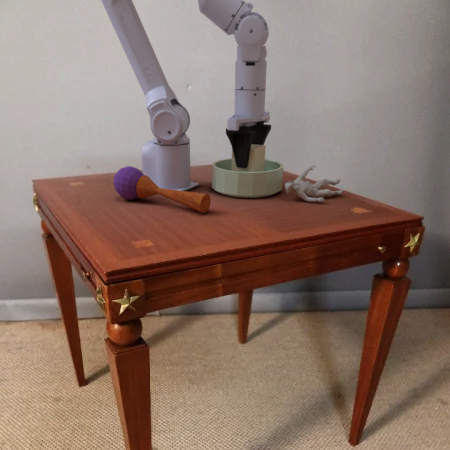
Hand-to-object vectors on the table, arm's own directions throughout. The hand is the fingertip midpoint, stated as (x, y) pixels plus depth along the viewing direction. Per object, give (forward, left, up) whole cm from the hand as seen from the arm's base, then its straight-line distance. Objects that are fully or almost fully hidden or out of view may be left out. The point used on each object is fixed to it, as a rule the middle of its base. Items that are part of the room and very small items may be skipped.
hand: (247, 165), depth 99 cm
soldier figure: (+14, +1, -5) cm, 15 cm away
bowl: (0, 0, -5) cm, 5 cm away
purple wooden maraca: (-9, -18, -5) cm, 21 cm away
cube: (0, 0, -1) cm, 1 cm away
